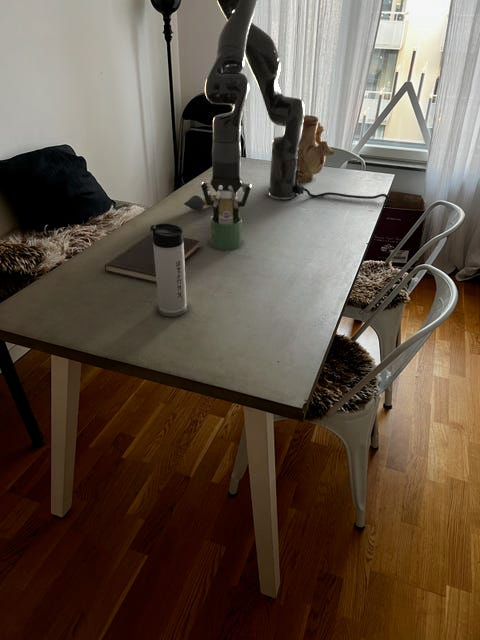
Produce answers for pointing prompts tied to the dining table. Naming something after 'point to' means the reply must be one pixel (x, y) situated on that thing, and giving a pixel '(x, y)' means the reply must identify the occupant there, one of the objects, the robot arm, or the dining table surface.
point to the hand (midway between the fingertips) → (226, 219)
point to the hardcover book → (143, 259)
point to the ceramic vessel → (311, 149)
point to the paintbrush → (198, 202)
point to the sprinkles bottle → (225, 208)
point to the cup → (226, 234)
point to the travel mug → (169, 269)
